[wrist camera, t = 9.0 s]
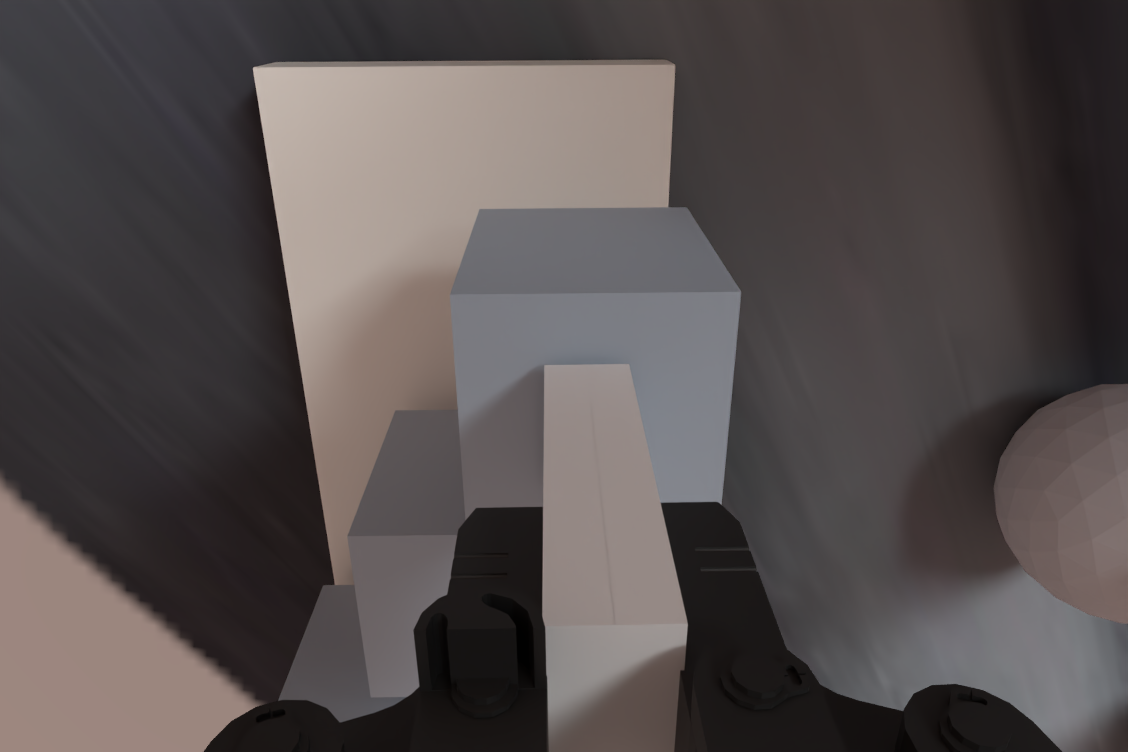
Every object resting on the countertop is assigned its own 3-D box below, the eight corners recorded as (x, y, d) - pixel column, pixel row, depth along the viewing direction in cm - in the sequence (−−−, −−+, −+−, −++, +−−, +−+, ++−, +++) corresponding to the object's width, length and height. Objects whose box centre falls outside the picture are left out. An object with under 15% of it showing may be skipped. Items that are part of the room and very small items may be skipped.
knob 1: (474, 583, 27) (453, 738, 21) (481, 694, 29) (464, 862, 23) (323, 585, 27) (262, 741, 21) (341, 696, 29) (290, 864, 23)
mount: (665, 59, 23) (709, 82, 16) (637, 686, 33) (657, 849, 27) (276, 61, 23) (170, 86, 16) (369, 690, 33) (324, 855, 27)
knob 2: (562, 408, 24) (566, 533, 18) (564, 545, 26) (567, 694, 20) (395, 410, 24) (346, 536, 18) (409, 547, 26) (370, 697, 20)
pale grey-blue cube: (686, 207, 19) (741, 291, 14) (675, 392, 22) (718, 531, 16) (479, 209, 19) (449, 294, 14) (488, 394, 21) (466, 534, 16)
